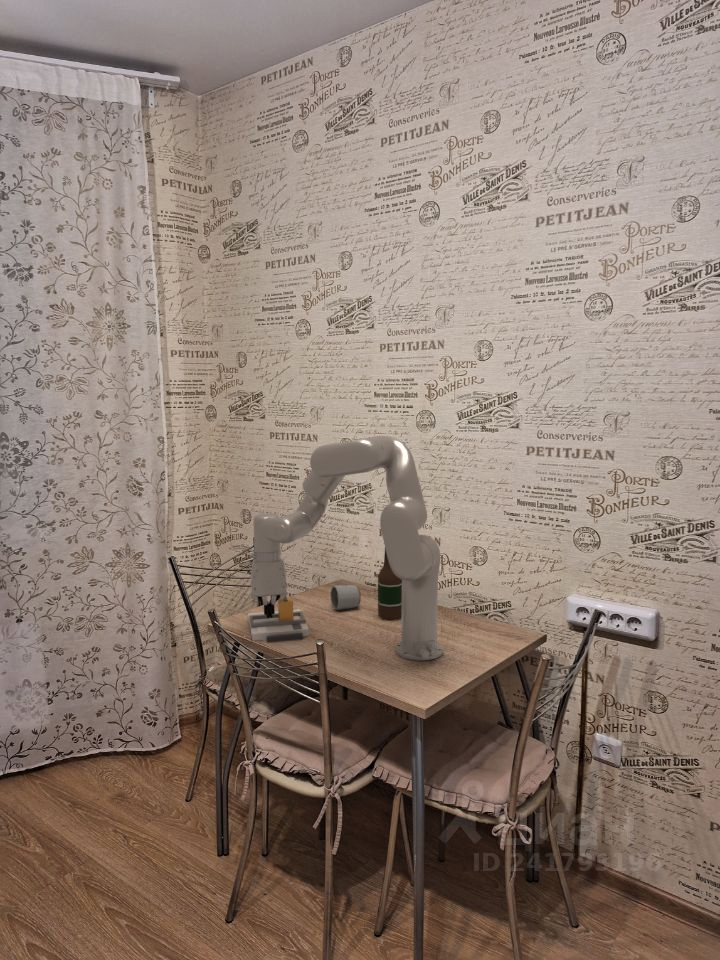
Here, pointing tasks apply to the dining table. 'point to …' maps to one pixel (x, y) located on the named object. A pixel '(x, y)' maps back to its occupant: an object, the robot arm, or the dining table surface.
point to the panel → (276, 625)
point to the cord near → (284, 637)
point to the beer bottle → (389, 593)
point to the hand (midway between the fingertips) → (269, 616)
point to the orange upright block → (285, 609)
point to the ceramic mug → (345, 597)
